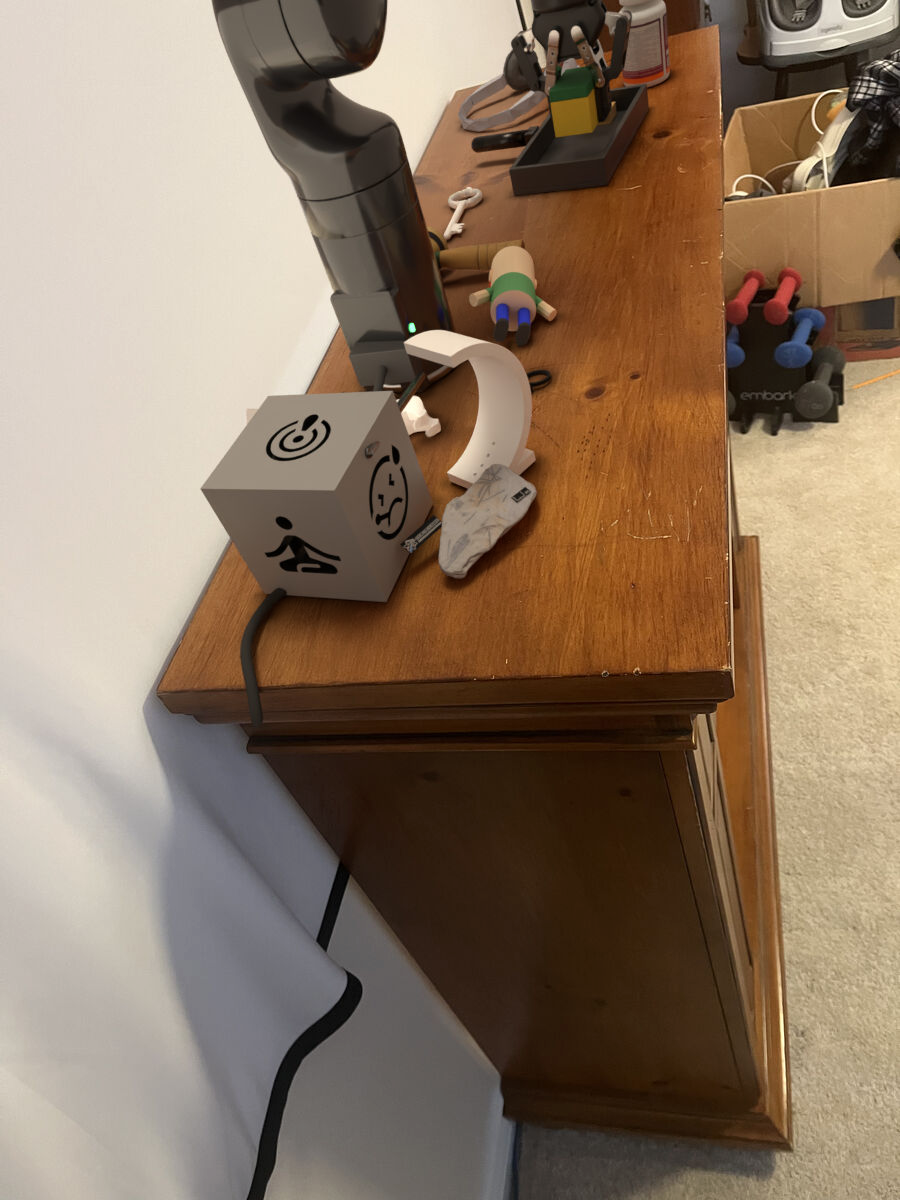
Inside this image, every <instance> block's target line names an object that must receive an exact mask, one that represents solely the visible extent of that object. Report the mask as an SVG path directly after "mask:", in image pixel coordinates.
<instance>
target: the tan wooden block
mask: <svg viewBox="0 0 900 1200" xmlns="http://www.w3.org/2000/svg"><path fill="white" fill-rule="evenodd" d="M616 115H617V111H616V102H612V108H611V111H610V113H609V114H608V116H607V118H606V120H605V121H604V122H599V123H598V124H597V126H599V125H606V124H611V123H612V121H613V120H614V118H615V116H616Z"/></svg>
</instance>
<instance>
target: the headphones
mask: <svg viewBox="0 0 900 1200" xmlns="http://www.w3.org/2000/svg"><path fill="white" fill-rule="evenodd" d="M534 52H535V55H536V57H537V60H538V61H539V56H538V54H537V52H536V51H535V50H534ZM609 62H611V58H610V59H609V60H607V61H606V63H609ZM583 65H585V64H584V62H583V63H582V64H580V65H579V64H578V63H577V61H576V59H575V58H570V59H568V60H566V61H564V64H563V67H562V73H561V75H562V74H563V73H564V71H565V70H567V69H573V68H578V67H582V66H583ZM543 74H544V76H546V66H544V69H543ZM507 86H509V88H511V89H512V90H513V91H518V92H519V91H520V92H521V91H524V90H527V89H528V88H529V86H528V83H527V81H526V79H525V76H524V74H523V72H522V70H521V67H520V65H519V63H518V60H517V58H516V56H515V53H514V51H513V49H512V48H511V49H510V51H509V53H508V54H507V56H506V57H505V61H504V62H503V68H502V73H500V74H499V75H497V76H495V77H494V78H492V79H490V80H488V81H486V82H484V83H483V84H482V85H480V86H479V87H478V88H477V89H476V90H475V91H473V92H472V93H471V94H469V95H468V96H467V97H466V98H465V99H464V101H463V102H462V104H461V105H460V108H459V110H458V115H457V116H458V119H459V121H460V123H461V126H462V129H463V130H466V131H473V132H483V131H486V130H490V129H492V128H495V127H498V126H503V125H506V124H507V125H508V124H509V123H512V122H514V121H516V119H518V118H520V117H521V116H523V115H525V114H527V113H529V112H530V111H531V110H532V109H534V108H535V107H537V106H538V105H539V104H540V103H541V102H542V101H543V100H544V99H545V98H547V96H546V94H545V93H543V92H540V91H536V92H533V91H531V90H529V91H528V92H527V93H526V94H525V95H524V96H523V97H522V98H520V99H519V100H518V101H516V102H515V103H514V104H513V105H512V106H510V108H508V109H505V110H502V111H500V112H497V113H494V114H493V115H491V116H490V115H489V116H487V117H480V118H476V119H471V118H467V116H468V114H469V113H470V112H471V110H472V109H473V107H474V106H476V105H477V104H480V103H481V102H483V101H484V100H486V99H488V98H490V97H491V96H493V95H496V94H498V93H499V92H500V91H502V90H504V89H505V88H506V87H507Z"/></svg>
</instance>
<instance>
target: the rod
mask: <svg viewBox="0 0 900 1200" xmlns="http://www.w3.org/2000/svg"><path fill="white" fill-rule="evenodd" d="M425 377H426V374H425V373H424V372H422V371H420V372H419V373H418V374H417V375H416V377H415V378H414V380H413V381H412V382H411V384H410V385H409V387H408V388H407V389H406V391H405V392H403V393H402V395H401V396H400V397H399V398H398V399H399V401H398V402H397V404H398V407H399V409H400V412H401V413H402V412H403V410H404V409H405V407H406V406H407V404H408V403H409V401H410V400H411V398H412V397H413V396H415V394H416V393H417V392H416V391H417V389H418V388H419V386H420V385H421V383H422V382H423V380H424V379H425ZM379 445H380V442H379V441H376V442H373V443H371V444H370V445H369V446H367V447H366V448H365V456H366V458H368V459H369V458H371V457H372V456H373V455H374V453H375V452H376V450H377V449H378V447H379Z"/></svg>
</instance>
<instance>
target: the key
mask: <svg viewBox="0 0 900 1200" xmlns="http://www.w3.org/2000/svg"><path fill="white" fill-rule="evenodd" d="M468 197H470V198H468ZM462 198H467V199H463V200H461V199H462ZM482 199H483V193H482V190H480V189H479V188H472V187H471V186H467V187H466V188H464V189H462V190H458V191H455V192H454V193H452V194H451V195H449V197H448V199H447V204H448V206H449V207H450V208H451V209H455V210H454V213H453V215H452V217H451V218H450V221H449V223H448V225H447V227H446V229H445V231H444V232H443V237H444V238H445V240H450V238H451V237H452V235H455V234H458V235H459V234H461V233H462V231H463V227H464V226H465V225H466V224H465V222H464V223H462V222H461V223H458V222H459V221H460V219H461V216H462V215H463V213H464V211H465V209H468V208H469V207H473V206H476V205H477V204H478V203H480V202H481V201H482Z"/></svg>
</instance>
